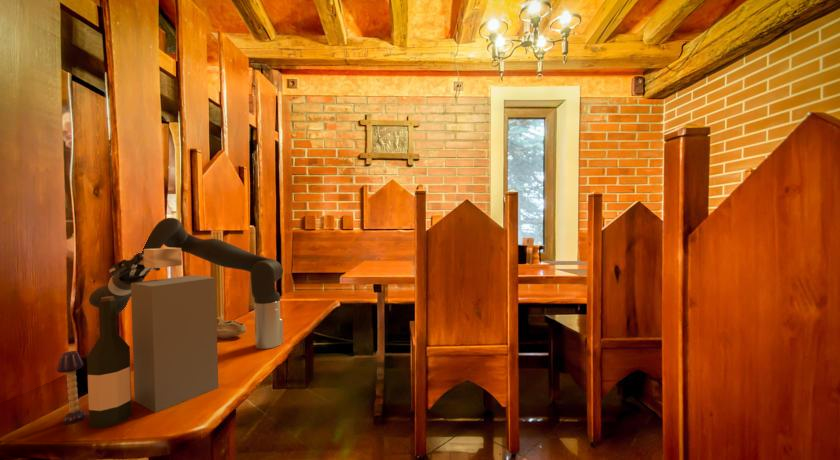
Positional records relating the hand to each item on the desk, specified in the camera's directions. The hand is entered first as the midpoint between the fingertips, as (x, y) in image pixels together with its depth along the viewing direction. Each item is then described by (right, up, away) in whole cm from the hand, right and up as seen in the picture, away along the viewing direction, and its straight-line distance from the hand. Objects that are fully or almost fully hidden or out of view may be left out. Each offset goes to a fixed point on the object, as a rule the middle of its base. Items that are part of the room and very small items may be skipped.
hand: (146, 255), depth 110 cm
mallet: (+3, -3, -2) cm, 4 cm away
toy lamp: (-3, -39, -20) cm, 44 cm away
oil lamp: (+2, -38, +45) cm, 59 cm away
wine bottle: (+7, -39, -20) cm, 45 cm away
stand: (+14, -38, -8) cm, 42 cm away
